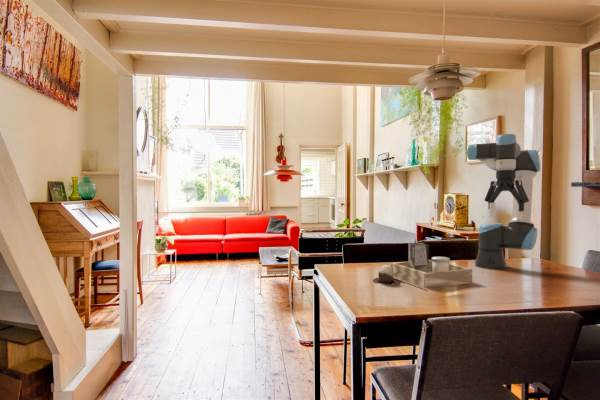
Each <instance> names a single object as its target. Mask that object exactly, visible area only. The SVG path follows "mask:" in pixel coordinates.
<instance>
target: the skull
mask: <svg viewBox="0 0 600 400" xmlns="http://www.w3.org/2000/svg"><path fill="white" fill-rule="evenodd" d="M400 280H401V279H399V278H396V277H394V273H393V268H392V267H391V265H388V264H385V265H382V266H381V267H380V268H379V270H378V277H375V278H373V279H372V282H373V283H375V284H380V285H381V284H384V285H392V286H395V285H400V284H401V283H402V282H401V281H402V280H401V281H400Z"/></svg>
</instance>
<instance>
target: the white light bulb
mask: <svg viewBox="0 0 600 400" xmlns="http://www.w3.org/2000/svg"><path fill="white" fill-rule="evenodd" d="M431 260H432V272H440V271H449V264H450V260H451V259H450V257H447V256H432V257H431Z"/></svg>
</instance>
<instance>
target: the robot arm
mask: <svg viewBox="0 0 600 400" xmlns="http://www.w3.org/2000/svg"><path fill="white" fill-rule="evenodd" d="M466 157H467V159H468V160H469V161H475V160H476V161H480V162H481V163H484V164H485V165H486V166H487V168H488V169H491V170H493V171H496V172H495V179H496V180H495V181H494V180H491V181H490V186H489V188H488V191H487V193H486V195H485V197H484V201H485V202H487V203H488V205H487V206H488V207H487V208H488V211H489V216H488V217H489V218H496V202H495V201H496V199H497V198H498V197H499V195H501V193H502V192H507V191H508V192H510V194H511V195H512V196H513V197H512V208H511V209H512V210H511V211H512V212H511V220H510V221H509V222H508V223H507V225H504V224H503V223H501V222H498V223H487V224H486V223H485V224H481V225H479V228H478V253H477V255H476V258H475V260H474V266H476V267H478V268H482V269H483V268H484V269H493V270H501V269H502V270H504V269H507V261H506V259H505V255H504V249H510V250H521V251H525V250H526V251H531V250H533V249H534V248H535V246H536V243H537V238H538V228H537V227H535V224H534V223H533V222H532V207H533V205H532V204H533V189H534V188H533V186H534V185H533V184H534V178H535V177H537V174H538V173H539V172H541V162H540V161H541V160H540V156H539V151H537V150H536V149H523V150H521V146H520V144H519V143H518V142H517V135H516V134H514V133H503V134H498V135H497V136H496V141H495V142H490V143H489V142H488V143H475V144H473V143H472V144H469V145H468V146H467V148H466Z"/></svg>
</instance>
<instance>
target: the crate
mask: <svg viewBox="0 0 600 400" xmlns="http://www.w3.org/2000/svg"><path fill="white" fill-rule="evenodd" d="M390 266H391V267H392V268H393V273H394V277H393V278H396V279H399V280H400V281H401V282H400V283H403V284H407V285H409V286H412V287H415V288H417V289H421V290H423V291H429V290H428V289H429V288H438V287H446V286H454V285H465V284H466V285H467V284H473V269H472V268H469V267H465V266H462V265H461V266H460V265H457V264H452V263H449V271H440V272H432V259H429V273H425V272H422V271H419V270H415V269H412V268H409V261H401V262H398V261H397V262H390ZM414 284H415V285H414ZM419 286H420V287H419Z"/></svg>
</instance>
